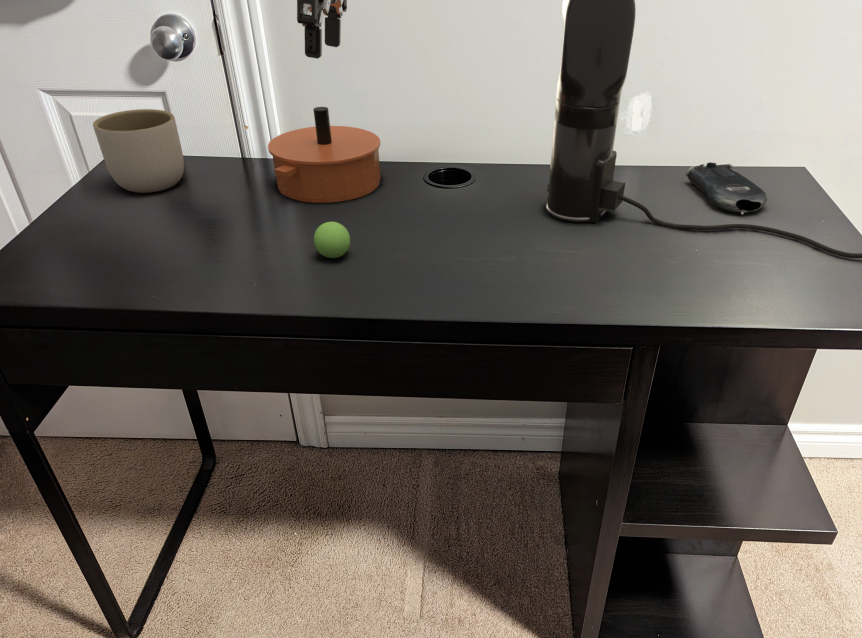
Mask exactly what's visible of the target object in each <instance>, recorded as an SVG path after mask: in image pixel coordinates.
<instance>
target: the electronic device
mask: <svg viewBox="0 0 862 638" xmlns="http://www.w3.org/2000/svg"><path fill="white" fill-rule="evenodd" d="M685 176H686V177H687V179H688V181H689V182H690V183H691V184H693V185H694V187H696V188H697V189H699V190H700V192H701V193H703V194H704V195H705V196H707V199H708V200H709V202H710V203H711V204H712V205H713V206H714V207H717V208H719V209H721V210H723V211H726V212H731V213H740V214H741V215H744V214H745V213H751V212H756V211H758V210H760V209H762V208H763V207H764V206H765V205H766V203H767V201H768V198H767V193H766V192H765V191H764V189H762V188H760V186H758V185H757V184H756V183H754V182H753V181H752V180H749V179H748V178H747V177H745V176H743V174H741V173H739V172H737V171H735V170H734V168H733V164H730V163H726V164H717V163H716V162H707V163H706V164H705V163H701V164H699V165H692V166H690V167H689V168H688V169H687V172H686V174H685Z"/></svg>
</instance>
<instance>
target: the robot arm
mask: <svg viewBox="0 0 862 638" xmlns="http://www.w3.org/2000/svg"><path fill="white" fill-rule="evenodd" d="M347 9H348V0H296V21H297V24H301V26H302V27H303V28H304V55H305V56H306V57H307V58H310V59H320V58H321V57H322V55H323V23H324V44H325V45H326V46H327V47H333V48H338V47H339V46H341V32H342V30H341V29H342V28H341V25H342V23H341V22H342V19H343V17H344V13H347ZM636 10H637V9H636V0H562V20H563V23H564V28H563V38H562V39H563V40H562V52H561V63H560V70H559V75H558V79H557V85H556V98H555V109H554V122H553V132H552V145H551V157H550V165H549V166H550V168H549V179H548V180H549V181H548V184H547V191H546V192H547V202H546V206H545V207H546V208H545V209H546V212H547V213H548V214H549V215H550V216H552V217H554V218H555V219H557V220H561V221H564V222H565V221H566V222H571V223H573V222H574V223H593V224H596V223H597V222H598V221H600V220H601V219H602V218H603V216H605V214H606V213H608V211H615V210H617V208H618V207H619V206H621V204H622V203H623V202H625V203H627V204H629V205H631V206H633V207H636V208H637V209H639V210H641V211H642V212H643V213H644V214H645V216H647V219H648V220H649V221H650V222H652V223H654V224H656V225H658V226H661V227H665V228H670V229H675V230H689V231H690V230H693V231H694V230H695V231H720V230H721V231H722V230H728V229H729V230H732V229H743V230H754V231H761V232H766V233H769V234H770V233H771V234H774V235H775V234H776V235H779V236H783V237H786V238H790V239H794V240H796V241H801V242H803V243H806V244H808V245H811V246H812V247H815V248H818V249H819V250H822V251H824V252H827V253H829V254H832V255H834V256H838V257H842V258H848V259H862V253H861V252H860V253H859V252H857V253H856V252H855V253H854V252H846V251H842V250H838V249H835V248H831V247H830V246H827V245H824V244H822V243H821V242H819V241H816V240H813V239H811V238H809V237H806V236H804V235H800V234H797V233H793V232H790V231H786V230H783V229H778V228H774V227H770V226H765V225H757V224H747V223H729V224H728V223H726V224H716V225H701V224H699V225H698V224H677V223H671V222H666V221H663V220H660V219H658V218H656V217H654V216H653V214H652V213H651V211H650V210H649V209H648V208H647V207H646V206H645V205H643V204H642V203H640V202H638V201H636V200H634V199H632V198H629V197H626V196H625V195H624V194H625V187H626V182H622V181H617V180H614V175H615V168H616V161H617V154H618V153H617V151H616V150H614V148H615V147H614V146H615V140H616V134H617V133H616V132H617V125H618V118H619V111H620V103H621V97H622V91H623V88H624V85H625V83H626V79H627V74H628V69H629V62H630V56H631V50H632V45H633V37H634V31H635V24H636V12H637V11H636Z"/></svg>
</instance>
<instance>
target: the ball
mask: <svg viewBox="0 0 862 638" xmlns="http://www.w3.org/2000/svg"><path fill="white" fill-rule="evenodd" d="M313 244H314V247H315V249H316V250H317V251H318V253H319V254H320V255H322V256H323V257H326V258H328V259H337V258H340V257H342V256H344V255H345V254H346V253H347V251H348V250H349V249H350V247H351V235H350V233H349V231H348V229H347V228H346V227H345V226H344V225H343V224H342V223H339V222H337V221H327V222H324V223H322V224H320V225H319V226H318V227H317V228H316V230H315V232H314V236H313Z"/></svg>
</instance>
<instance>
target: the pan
mask: <svg viewBox="0 0 862 638" xmlns="http://www.w3.org/2000/svg"><path fill="white" fill-rule="evenodd" d="M272 160H273V168H274V175H275V179H276V184H277V189H278V191H279V192H280V193H281V194H282V195H283V196H285V197H287V198H290V199H292V200H295V201H299V202H306V203H314V204H315V203H318V204H320V203H321V204H324V203H325V204H327V203H329V204H330V203H337V202H345V201H351V200H355V199H358V198H362V197H364V196H366V195H369V194H370V193H372V192H374V191H375V190H376V189H378V187H379V185H380V182H381V166H380V165H381V164H380V148H379V149H378V150H377V151H376V152H374V153H373V154H371V155H369V156H367V157H364V158H361V159H358V160H354V161H350V162H344V163H337V164H326V165H308V164H297V163H291V162H286V161H283V160H280V159H277V158H275V157H274V156H272Z"/></svg>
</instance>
